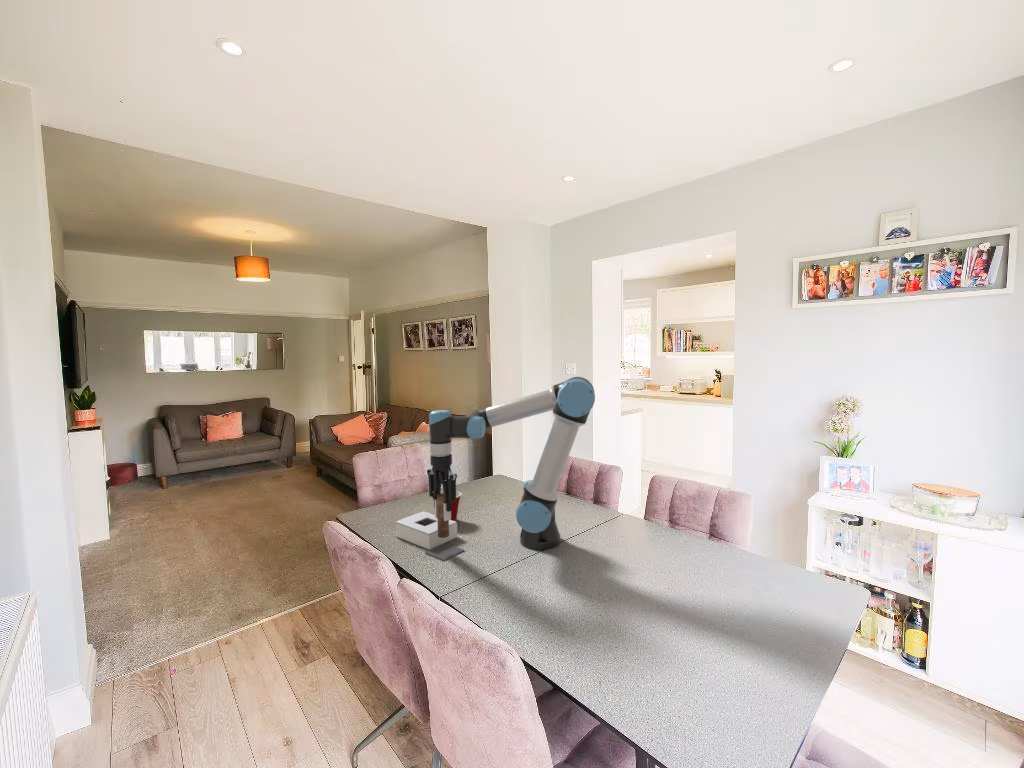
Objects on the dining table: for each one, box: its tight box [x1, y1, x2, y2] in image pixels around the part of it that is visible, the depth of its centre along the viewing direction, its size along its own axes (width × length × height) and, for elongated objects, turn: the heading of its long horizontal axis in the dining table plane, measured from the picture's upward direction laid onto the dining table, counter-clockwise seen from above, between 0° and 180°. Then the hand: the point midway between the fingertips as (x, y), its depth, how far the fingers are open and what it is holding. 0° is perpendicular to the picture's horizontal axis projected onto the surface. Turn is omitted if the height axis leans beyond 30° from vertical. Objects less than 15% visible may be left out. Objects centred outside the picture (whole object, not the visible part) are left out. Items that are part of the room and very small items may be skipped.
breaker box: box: [394, 510, 458, 551], centre depth 182 cm, size 20×14×6 cm
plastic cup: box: [440, 490, 463, 522], centre depth 198 cm, size 11×11×12 cm
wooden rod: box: [437, 493, 449, 538], centre depth 168 cm, size 4×4×15 cm
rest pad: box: [424, 542, 466, 562], centre depth 169 cm, size 10×10×1 cm
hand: (443, 518), depth 168 cm, fingers closed on wooden rod, 4 cm apart
